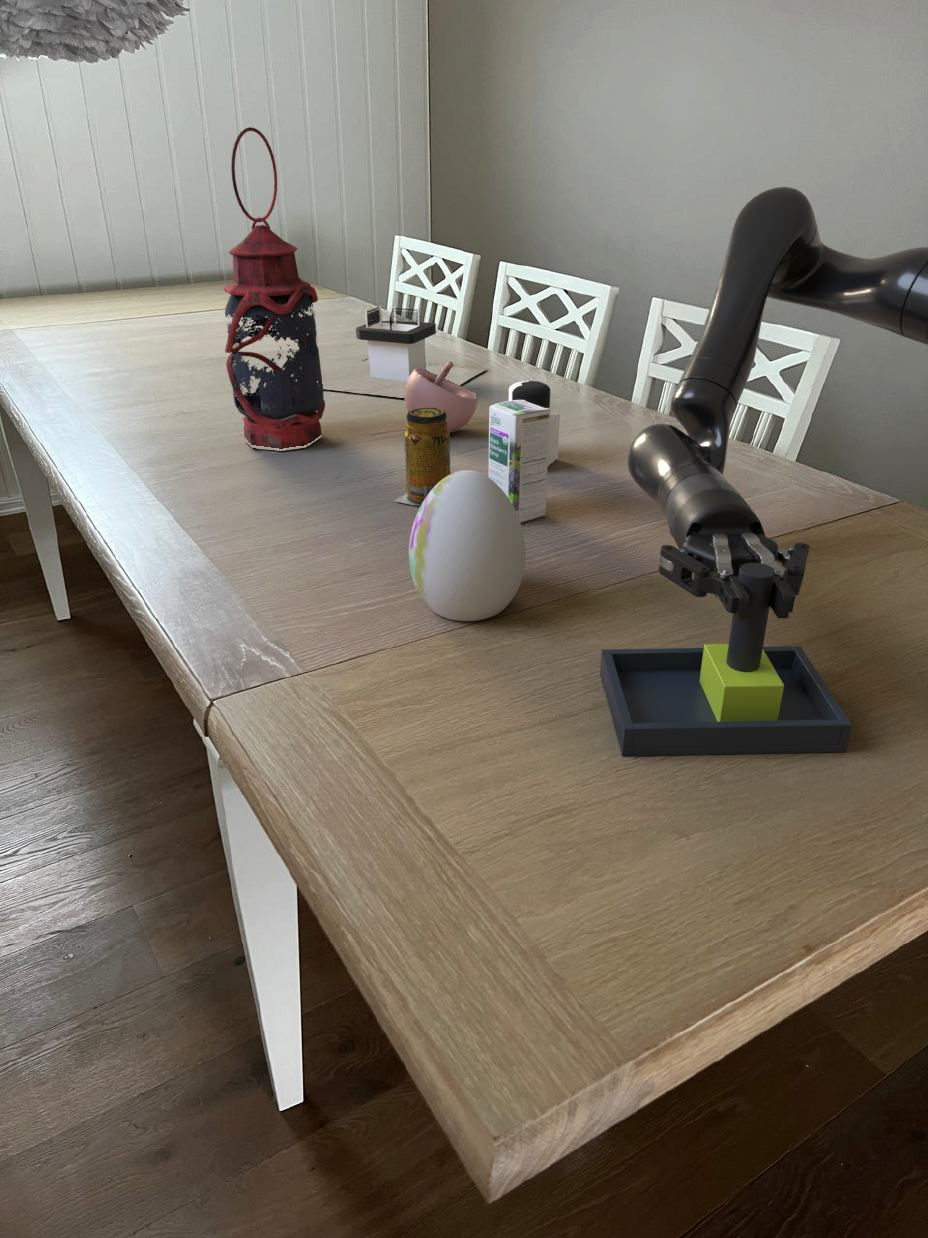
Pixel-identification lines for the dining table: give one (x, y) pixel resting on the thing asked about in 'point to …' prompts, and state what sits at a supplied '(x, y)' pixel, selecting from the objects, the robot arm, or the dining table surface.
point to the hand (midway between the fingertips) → (764, 608)
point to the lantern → (273, 335)
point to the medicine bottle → (541, 397)
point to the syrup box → (520, 454)
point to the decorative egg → (467, 548)
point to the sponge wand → (744, 659)
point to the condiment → (425, 453)
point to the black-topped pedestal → (395, 343)
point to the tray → (684, 721)
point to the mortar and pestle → (440, 396)
